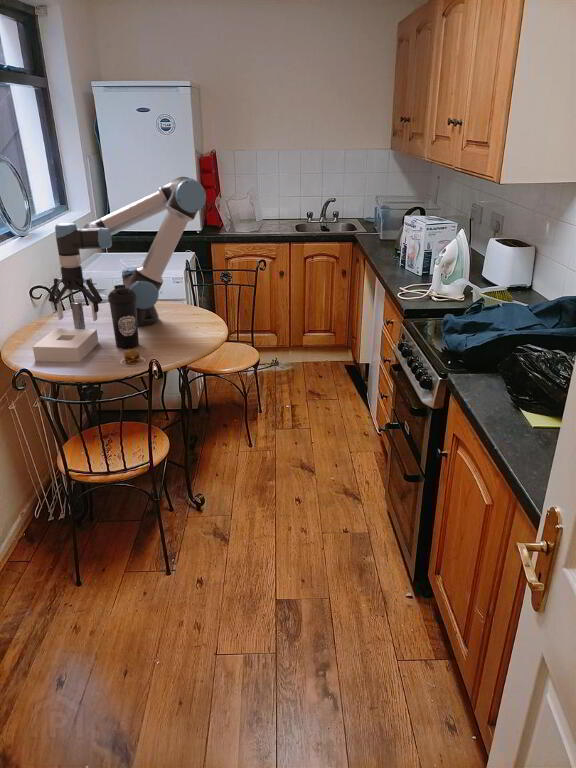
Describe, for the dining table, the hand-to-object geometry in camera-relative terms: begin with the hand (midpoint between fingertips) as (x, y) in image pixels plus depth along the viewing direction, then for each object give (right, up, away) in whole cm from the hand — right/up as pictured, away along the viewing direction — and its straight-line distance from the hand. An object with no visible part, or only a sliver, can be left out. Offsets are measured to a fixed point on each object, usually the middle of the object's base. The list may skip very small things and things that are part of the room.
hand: (78, 319), depth 220 cm
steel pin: (0, -7, +3) cm, 7 cm away
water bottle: (+21, -11, -5) cm, 24 cm away
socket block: (+1, -13, -11) cm, 18 cm away
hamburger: (+27, -18, -20) cm, 38 cm away
